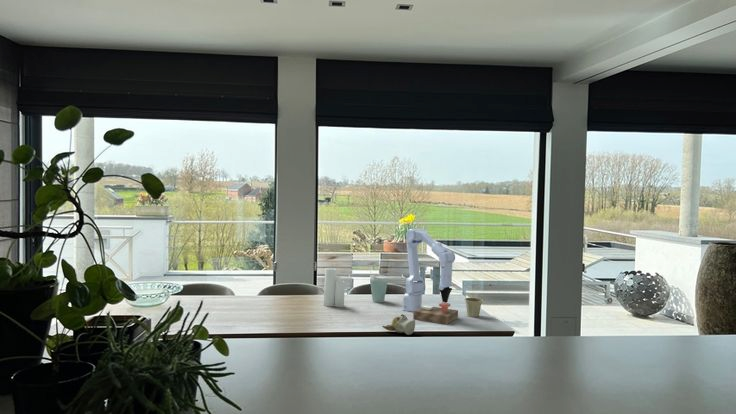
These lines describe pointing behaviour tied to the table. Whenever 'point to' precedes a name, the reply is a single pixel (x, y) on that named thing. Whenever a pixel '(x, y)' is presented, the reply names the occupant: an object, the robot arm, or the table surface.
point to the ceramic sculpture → (401, 325)
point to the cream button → (427, 307)
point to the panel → (435, 315)
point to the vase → (333, 288)
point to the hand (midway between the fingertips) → (444, 302)
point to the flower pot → (473, 306)
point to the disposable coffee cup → (378, 287)
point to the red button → (444, 307)
